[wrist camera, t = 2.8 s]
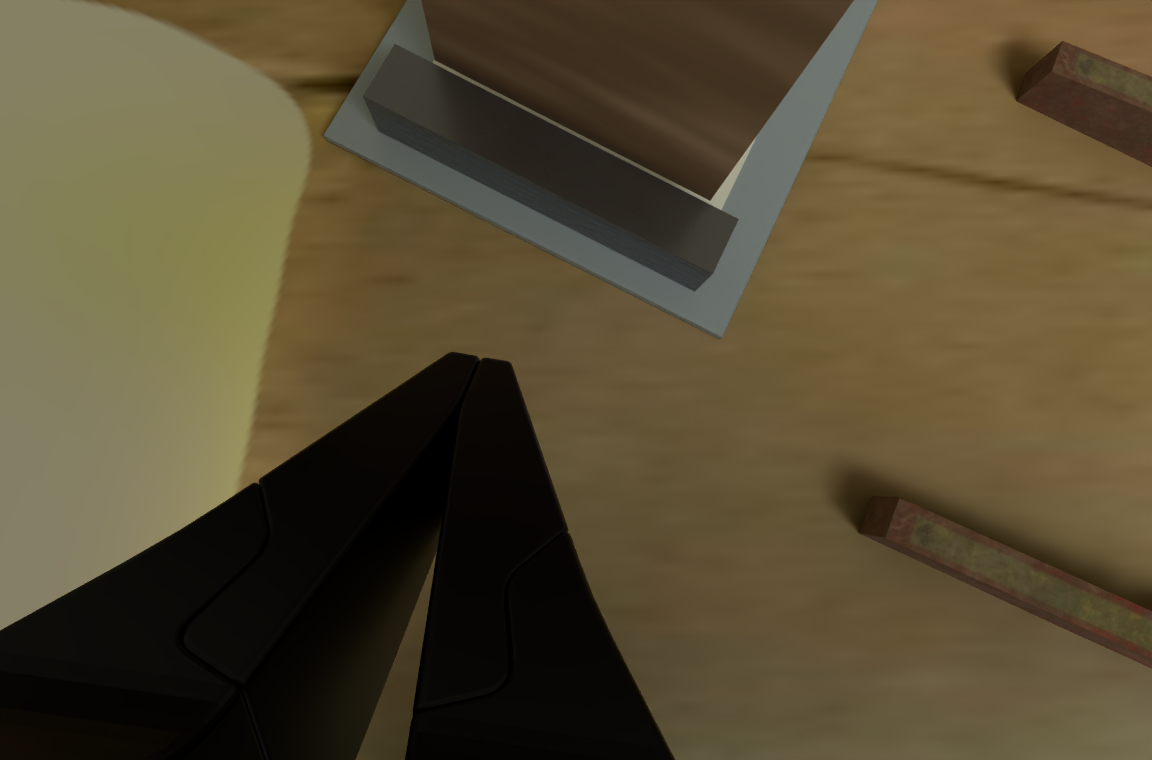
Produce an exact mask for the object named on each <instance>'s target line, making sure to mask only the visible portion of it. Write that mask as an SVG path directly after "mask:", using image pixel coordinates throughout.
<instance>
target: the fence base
mask: <svg viewBox="0 0 1152 760" xmlns="http://www.w3.org/2000/svg"><path fill="white" fill-rule="evenodd" d="M363 97H364V100H365V102H366V104H367V107H368V109H369V111H370V113H371V116H372V118H373V120H374V122H375V125H376V127H377V129H378V131H379V132H381V133H383V134H385V135H387V136H389V137H391V138H393V139H395V140H396V141H398V142H400V143H402V144H404V145H406V146H408V147H410V148H412V149H414V150H416V151H418V152H420V153H422V154H424V155H426V156H428V157H430V158H432V159H434V160H436V161H438V162H440V163H442V164H444V165H446V166H448V167H450V168H452V169H454V170H456V171H458V172H460V173H462V174H464V175H465V176H467V177H469V178H471V179H473V180H475V181H477V182H479V183H481V184H483V185H485V186H487V187H489V188H491V189H493V190H495V191H497V192H499V193H501V194H503V195H505V196H507V197H509V198H511V199H513V200H515V201H517V202H519V203H521V204H523V205H525V206H527V207H529V208H531V209H533V210H535V211H536V212H538V213H540V214H542V215H544V216H546V217H548V218H550V219H552V220H554V221H556V222H558V223H560V224H562V225H564V226H566V227H568V228H570V229H572V230H574V231H576V232H578V233H580V234H582V235H584V236H586V237H588V238H590V239H592V240H594V241H596V242H598V243H600V244H602V245H604V246H606V247H607V248H609V249H611V250H613V251H615V252H617V253H619V254H621V255H623V256H625V257H627V258H629V259H631V260H633V261H635V262H637V263H639V264H641V265H643V266H645V267H647V268H649V269H651V270H653V271H655V272H657V273H659V274H661V275H663V276H665V277H667V278H669V279H671V280H673V281H675V282H677V283H678V284H680V285H682V286H684V287H686V288H688V289H690V290H692V291H694V292H695V291H696V290H697V289H698V288H699V287H700V286H701V285H702V284H703V283H704V282H705V281H706V280H707V279H708V278H709V277H710V276H711V275H712V274H713V273H714V271H715V269H716V267H717V264H718V262H719V260H720V258H721V256H722V254H723V252H724V250H725V247H726V245H727V243H728V241H729V239H730V237H731V235H732V233H733V231H734V228H735V226H736V224H737V222H738V220H739V219H738V218H736V217H734V216H732V215H730V214H728V213H726V212H724V211H722V210H720V209H718V208H716V207H714V206H712V205H710V204H708V203H706V202H704V201H702V200H700V199H698V198H696V197H694V196H692V195H691V194H689V193H687V192H685V191H683V190H681V189H679V188H677V187H675V186H673V185H671V184H669V183H667V182H665V181H663V180H661V179H659V178H657V177H655V176H653V175H651V174H649V173H647V172H645V171H643V170H642V169H640V168H638V167H636V166H634V165H632V164H630V163H628V162H626V161H624V160H622V159H620V158H618V157H616V156H614V155H612V154H610V153H608V152H606V151H604V150H602V149H600V148H598V147H596V146H594V145H592V144H591V143H589V142H587V141H585V140H583V139H581V138H579V137H577V136H575V135H573V134H571V133H569V132H567V131H565V130H563V129H561V128H559V127H557V126H555V125H553V124H551V123H549V122H547V121H545V120H543V119H542V118H540V117H538V116H536V115H534V114H532V113H530V112H528V111H526V110H524V109H522V108H520V107H518V106H516V105H514V104H512V103H510V102H508V101H506V100H504V99H502V98H500V97H498V96H496V95H494V94H493V93H491V92H489V91H487V90H485V89H483V88H481V87H479V86H477V85H475V84H473V83H471V82H469V81H467V80H465V79H463V78H461V77H459V76H457V75H455V74H453V73H451V72H449V71H447V70H445V69H444V68H442V67H440V66H438V65H436V64H434V63H432V62H430V61H428V60H426V59H424V58H422V57H420V56H418V55H416V54H414V53H412V52H410V51H408V50H406V49H404V48H402V47H400V46H398V45H396V44H394V46H393V48H392V49H391V51H390V52H389V54H388V56H387V57H386V59H385V61H384V62H383V64H382V65H381V67H380V69H379V70H378V72H377V74H376V75H375V77H374V79H373V80H372V82H371V83H370V85H369V87H368V88H367V90H366V92H365V93H364V95H363Z"/></svg>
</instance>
